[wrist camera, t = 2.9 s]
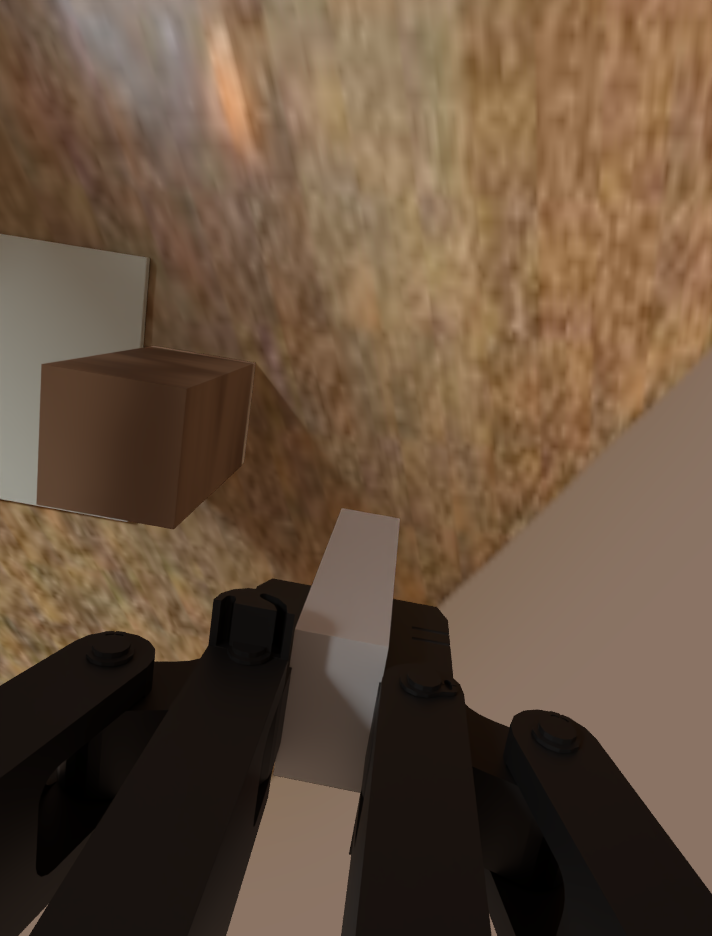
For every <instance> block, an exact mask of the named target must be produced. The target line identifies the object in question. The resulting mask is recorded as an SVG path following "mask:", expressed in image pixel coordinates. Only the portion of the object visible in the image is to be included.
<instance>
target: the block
mask: <svg viewBox="0 0 712 936" xmlns="http://www.w3.org/2000/svg"><path fill="white" fill-rule="evenodd" d="M255 364H256V363H254V362H248V361H242V360H236V359H230V358H224V357H218V356H212V355H206V354H200V353H194V352H188V351H182V350H176V349H170V348H164V347H158V346H150V347H143V348H137V349H131V350H125V351H119V352H113V353H107V354H101V355H94V356H88V357H82V358H76V359H70V360H64V361H58V362H51V363H45V364H41V390H40V417H39V445H38V473H37V500H36V505H41V506H47V507H52V508H58V509H64V510H69V511H75V512H80V513H86V514H91V515H97V516H103V517H108V518H114V519H119V520H125V521H131V522H136V523H142V524H147V525H153V526H158V527H164V528H170V529H175V528H176V527H177V526H178V525H179V524H180V523H181V522H182V521H183V520H184V519H185V518H186V517H187V516H188V515H189V514H190V513H191V512H193V511H194V510H195V509H196V508H197V507H198V506H199V505H200V504H201V503H202V502H203V501H204V500H205V499H206V498H207V497H208V496H209V495H211V494H212V493H213V492H214V491H215V490H216V489H217V488H218V487H219V486H220V485H221V484H222V483H223V482H224V481H225V480H226V479H227V478H229V477H230V476H231V475H232V474H233V473H234V472H235V471H236V470H237V469H238V468H239V467H240V466H241V465H242V464H243V463H244V458H245V450H246V441H247V433H248V424H249V416H250V407H251V399H252V390H253V382H254V373H255Z"/></svg>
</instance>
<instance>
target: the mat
mask: <svg viewBox="0 0 712 936" xmlns="http://www.w3.org/2000/svg"><path fill="white" fill-rule="evenodd" d="M149 266H150V258H147V257H141V256H135V255H128V254H122V253H116V252H110V251H104V250H98V249H91V248H85V247H79V246H73V245H67V244H60V243H54V242H48V241H42V240H36V239H30V238H23V237H17V236H11V235H5V234H0V499H3V500H9V501H14V502H20V503H25V504H31V505H36V500H37V473H38V445H39V417H40V390H41V364H45V363H51V362H58V361H64V360H70V359H76V358H82V357H88V356H94V355H101V354H107V353H113V352H119V351H125V350H131V349H137V348H143V346H144V333H145V319H146V306H147V292H148V279H149ZM36 506H41V505H36ZM42 507H47V506H42ZM48 508H52V507H48ZM53 509H58V508H53ZM59 510H64V509H59ZM64 511H69V510H64ZM70 512H75V511H70ZM75 513H80V512H75ZM81 514H86V513H81ZM87 515H91V514H87ZM92 516H97V515H92ZM98 517H103V516H98ZM103 518H108V517H103ZM109 519H114V518H109ZM114 520H119V519H114ZM120 521H125V520H120ZM126 522H128V521H126Z"/></svg>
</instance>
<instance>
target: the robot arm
mask: <svg viewBox="0 0 712 936" xmlns="http://www.w3.org/2000/svg"><path fill="white" fill-rule="evenodd" d="M399 524H400V518H394V517H389V516H383V515H378V514H372V513H366V512H361V511H355V510H350V509H344V508H342V509H341V511H340V514H339V516H338V519H337V522H336V524H335V527H334V529H333V532H332V534H331V537H330V540H329V542H328V545H327V547H326V550H325V553H324V555H323V558H322V560H321V563H320V566H319V568H318V571H317V573H316V576H315V578H314V581H313V584H312V586H310V585H305V584H299V583H294V582H289V581H283V580H278V579H271V580H269V581H267V582H265V583H263V584H261V585H259V586H257V588H256V589H251V588H245V589H233V590H230V591H227V592H224V593H221V594H220V595H218V596H217V597H216V598H215V599H214V601H213V610H212V619H211V628H210V637H209V645H208V647H207V649H206V650H205V652H204V654H203V655H202V657H201V658H200V659H196V660H191V661H178V662H154V660H155V648H154V647H153V646H152V644H151V643H150V642H149V641H148V640H146V639H144V638H142V637H140V636H138V635H134V634H129V633H126V632H120V631H116V632H114V631H106V632H102V633H97V634H91V635H88V636H85V637H83V638H81V639H78V640H76V641H74V642H72V643H71V644H69V645H67V646H66V647H64V648H62V649H61V650H59V651H57V652H56V653H54V654H52V655H51V656H49V657H47V658H46V659H44V660H42V661H41V662H39V663H37V664H36V665H34V666H32V667H31V668H29V669H27V670H26V671H24V672H22V673H21V674H19V675H17V676H16V677H14V678H12V679H11V680H9V681H7V682H6V683H4V684H2V685H1V686H0V936H18V935H19V934H20V933H21V932H22V931H23V930H24V929H25V928H26V927H27V926H28V925H29V924H30V923H31V922H32V921H33V920H34V918H35V917H36V916H37V915H38V914H39V913H40V912H41V911H42V910H43V909H44V908H45V907H46V906H47V905H48V906H47V907H46V909H45V911H44V912H43V914H42V916H41V917H40V919H39V920H38V922H37V924H36V925H35V927H34V929H33V930H32V932H31V933H30V935H29V936H226V934H227V931H228V927H229V924H230V921H231V917H232V914H233V911H234V907H235V904H236V901H237V898H238V894H239V891H240V888H241V884H242V881H243V878H244V875H245V871H246V868H247V865H248V861H249V858H250V855H251V852H252V848H253V845H254V842H255V838H256V835H257V832H258V829H259V825H260V822H261V819H262V815H263V812H264V809H265V805H266V802H267V799H268V794H269V787H270V780H271V774H272V769H273V766H274V763H275V767H274V774H273V775H274V776H279V777H285V778H289V779H294V780H299V781H305V782H309V783H314V784H319V785H324V786H329V787H334V788H339V789H344V790H349V791H354V792H360V798H359V804H358V810H357V815H356V820H355V825H354V831H353V836H352V841H351V847H350V852H349V854H350V855H351V862H350V870H349V877H348V885H347V894H346V902H345V910H344V917H343V925H342V933H341V936H491V928H490V919H489V914H490V917H491V920H492V922H493V925H494V928H495V930H496V933H497V936H712V894H711V893H710V891H709V890H708V888H707V887H706V886H705V884H704V883H703V882H702V880H701V879H700V877H699V876H698V875H697V874H696V872H695V871H694V869H693V868H692V867H691V865H690V864H689V863H688V861H687V860H686V859H685V857H684V856H683V855H682V853H681V852H680V851H679V849H678V848H677V847H676V845H675V844H674V843H673V841H672V840H671V839H670V837H669V836H668V835H667V833H666V832H665V831H664V829H663V828H662V827H661V825H660V824H659V823H658V821H657V820H656V818H655V817H654V816H653V814H652V813H651V812H650V810H649V809H648V808H647V806H646V805H645V804H644V802H643V801H642V800H641V798H640V797H639V796H638V794H637V793H636V792H635V790H634V789H633V788H632V786H631V785H630V783H629V782H628V781H627V779H626V778H625V777H624V775H623V774H622V773H621V771H620V770H619V769H618V767H617V766H616V765H615V763H614V762H613V761H612V759H611V758H610V757H609V755H608V754H607V753H606V752H605V750H604V749H603V747H602V746H601V745H600V743H599V742H598V740H597V739H596V738H595V737H594V736H593V735H592V734H591V733H590V732H589V731H588V730H587V729H586V728H585V727H583V726H581V725H580V724H578V723H576V722H575V721H573V720H572V719H570V718H569V717H566V716H564V715H560V714H559V713H555V712H551V711H550V712H548V711H543V710H527V711H523V712H521V713H518V714H517V715H515V716H514V717H513V720H512V722H511V724H510V727H507V726H505V725H502V724H499V723H497V722H494V721H492V720H490V719H488V718H486V717H483V716H481V715H479V714H478V713H476V712H475V711H473V710H472V709H470V708H469V707H468V706H467V705H466V704H465V699H464V693H463V691H462V688H461V686H460V684H459V683H458V682H457V681H456V680H454V679H453V671H452V660H451V649H450V639H449V628H448V620H447V619H446V618H445V616H443V614H442V613H441V612H440V610H439V609H438V608H437V607H433V606H428V605H422V604H417V603H412V602H406V601H401V600H396V599H393V592H394V581H395V569H396V558H397V547H398V535H399Z"/></svg>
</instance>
